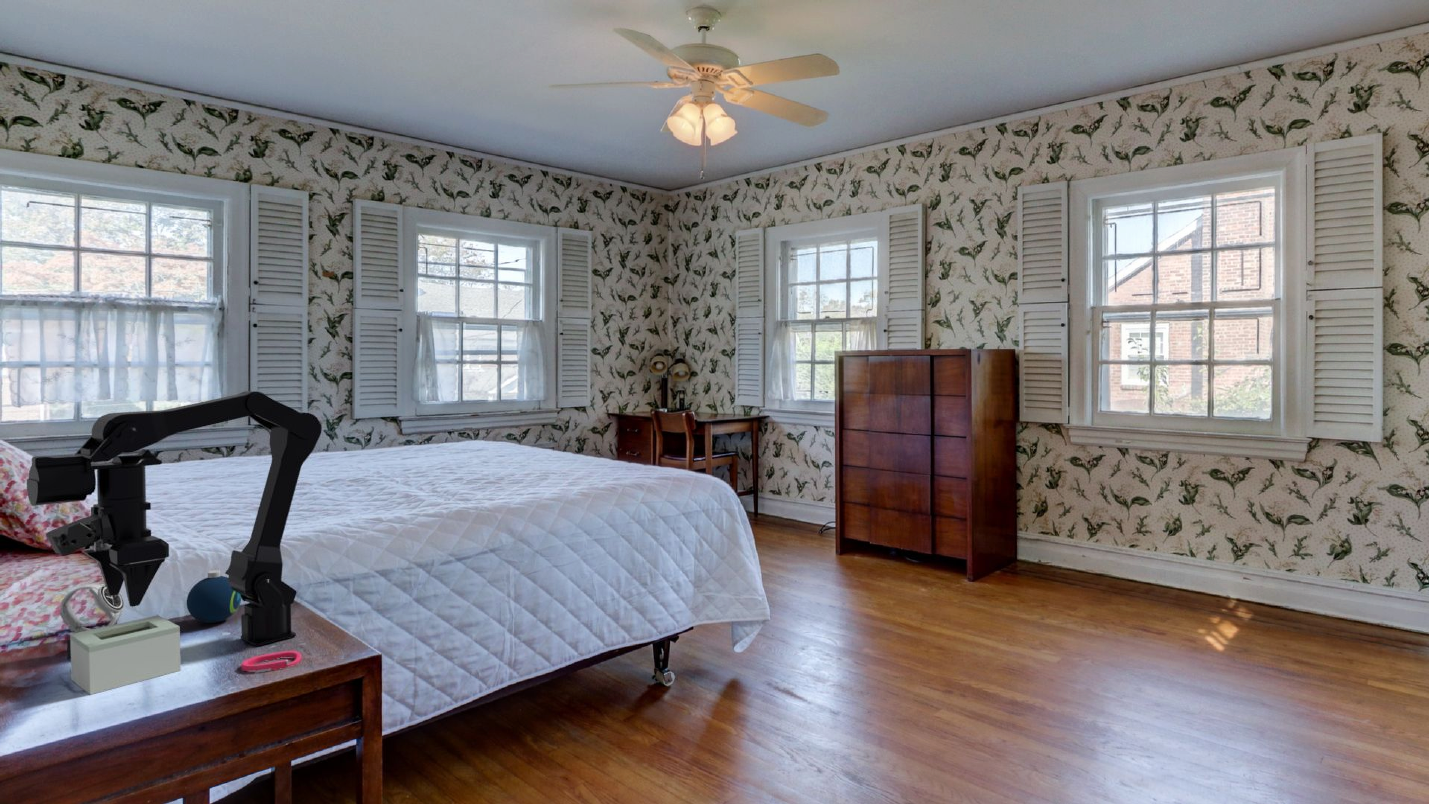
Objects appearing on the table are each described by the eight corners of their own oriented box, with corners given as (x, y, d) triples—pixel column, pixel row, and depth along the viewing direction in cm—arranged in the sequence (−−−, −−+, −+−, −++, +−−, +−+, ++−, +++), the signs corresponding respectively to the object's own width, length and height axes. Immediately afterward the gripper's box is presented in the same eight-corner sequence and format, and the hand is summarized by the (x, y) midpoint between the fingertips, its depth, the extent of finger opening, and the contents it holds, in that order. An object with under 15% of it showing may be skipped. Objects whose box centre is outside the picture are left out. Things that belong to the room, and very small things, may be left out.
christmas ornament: (213, 631, 134) (212, 575, 133) (175, 627, 136) (174, 572, 135) (252, 616, 142) (251, 563, 141) (216, 613, 144) (215, 561, 143)
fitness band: (240, 678, 114) (240, 668, 114) (242, 665, 119) (242, 655, 119) (301, 668, 118) (301, 658, 118) (301, 656, 123) (301, 646, 123)
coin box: (159, 657, 121) (158, 615, 121) (180, 670, 116) (179, 626, 116) (71, 679, 112) (70, 634, 112) (90, 694, 107) (89, 647, 107)
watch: (113, 655, 122) (112, 587, 122) (54, 660, 120) (52, 591, 120) (130, 643, 127) (128, 578, 127) (73, 647, 125) (72, 582, 125)
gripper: (34, 497, 112) (36, 601, 113) (71, 511, 101) (74, 626, 102) (126, 488, 121) (127, 585, 122) (169, 500, 110) (171, 606, 111)
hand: (124, 600), depth 114 cm, fingers open, 9 cm apart
